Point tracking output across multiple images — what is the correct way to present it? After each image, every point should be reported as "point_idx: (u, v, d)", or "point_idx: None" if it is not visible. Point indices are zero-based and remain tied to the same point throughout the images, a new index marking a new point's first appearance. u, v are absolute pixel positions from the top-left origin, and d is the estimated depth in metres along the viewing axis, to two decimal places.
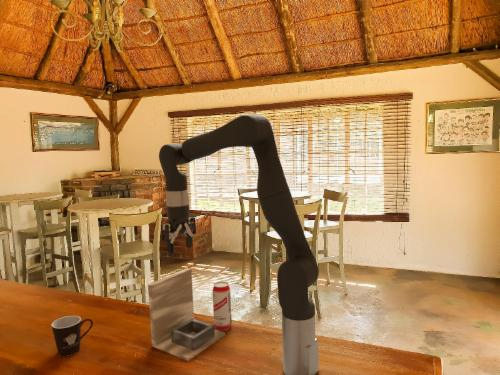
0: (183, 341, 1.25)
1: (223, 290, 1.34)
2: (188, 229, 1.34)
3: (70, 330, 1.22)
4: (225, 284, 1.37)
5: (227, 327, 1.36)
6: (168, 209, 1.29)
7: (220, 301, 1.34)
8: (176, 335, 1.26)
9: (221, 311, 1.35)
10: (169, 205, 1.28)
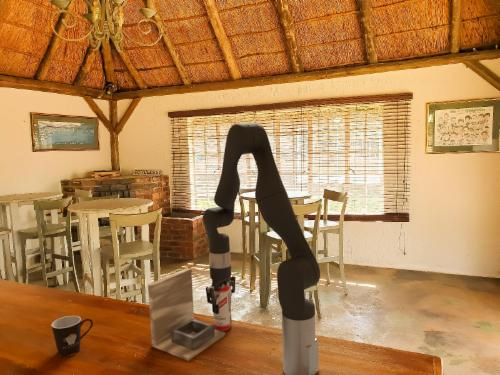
0: (183, 341, 1.25)
1: (223, 290, 1.34)
2: None
3: (70, 330, 1.22)
4: None
5: (227, 327, 1.36)
6: (212, 270, 1.34)
7: (220, 301, 1.34)
8: (176, 335, 1.26)
9: (221, 311, 1.35)
10: (213, 267, 1.33)
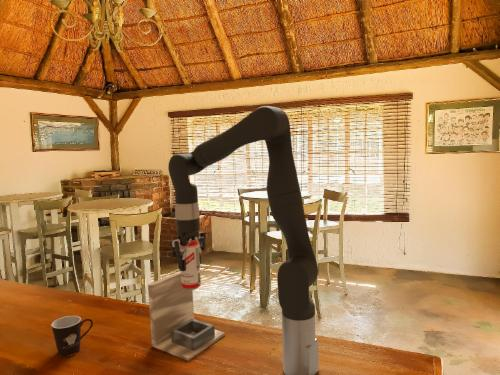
0: (183, 341, 1.25)
1: (191, 244, 1.23)
2: None
3: (70, 330, 1.22)
4: None
5: (195, 286, 1.25)
6: (177, 223, 1.22)
7: (187, 257, 1.23)
8: (176, 335, 1.26)
9: (188, 267, 1.23)
10: (179, 218, 1.21)
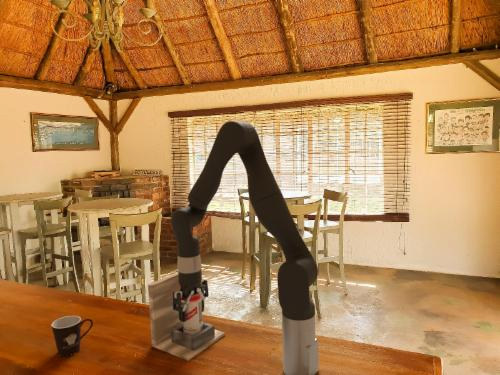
0: (183, 341, 1.25)
1: (193, 299, 1.25)
2: (200, 294, 1.29)
3: (70, 330, 1.22)
4: (196, 293, 1.28)
5: None
6: (180, 275, 1.24)
7: (190, 312, 1.25)
8: (176, 335, 1.26)
9: (191, 322, 1.25)
10: (181, 271, 1.23)
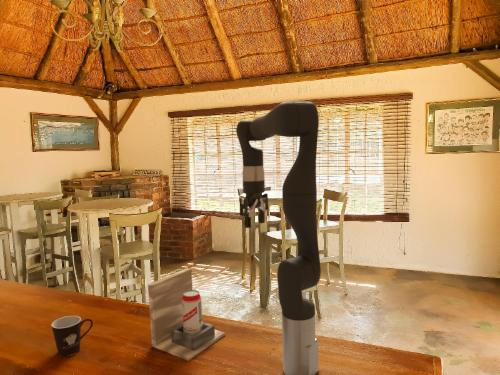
0: (183, 341, 1.25)
1: (193, 299, 1.25)
2: (262, 204, 1.37)
3: (70, 330, 1.22)
4: (195, 293, 1.28)
5: None
6: (245, 184, 1.32)
7: (190, 312, 1.25)
8: (176, 335, 1.26)
9: (191, 322, 1.25)
10: (247, 180, 1.32)
